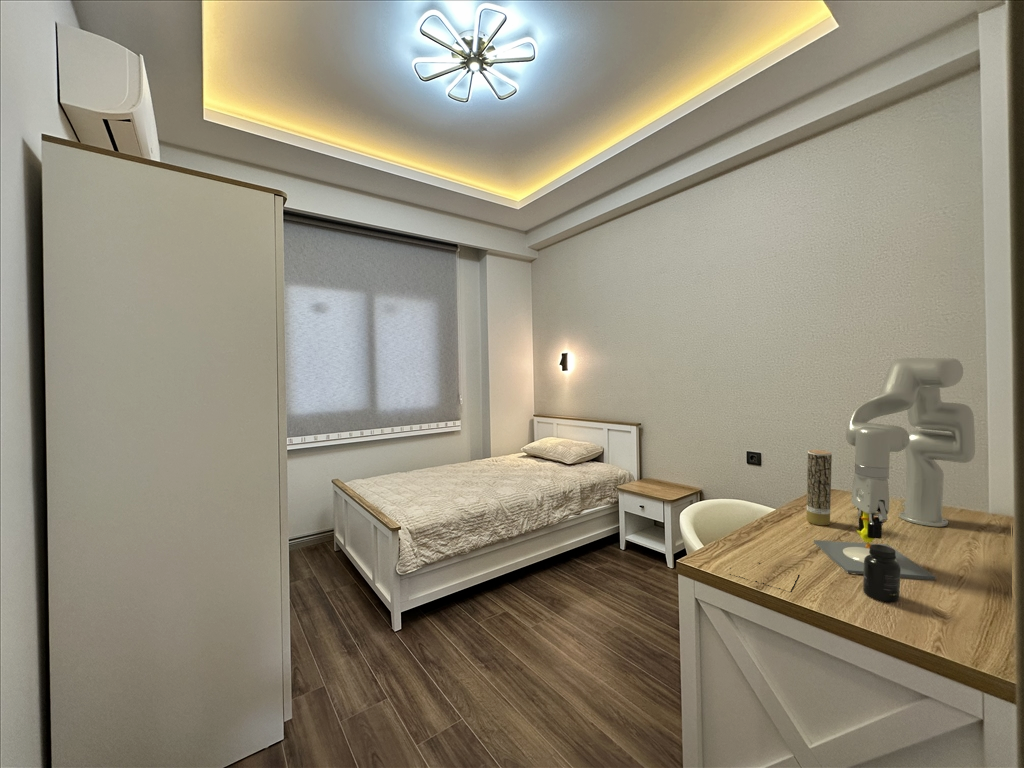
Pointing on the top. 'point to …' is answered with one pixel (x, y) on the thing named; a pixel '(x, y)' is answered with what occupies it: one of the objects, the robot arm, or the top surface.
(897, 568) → the supplement bottle
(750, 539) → the top surface
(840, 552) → the slate tile
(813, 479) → the paper tube
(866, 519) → the toy figure
